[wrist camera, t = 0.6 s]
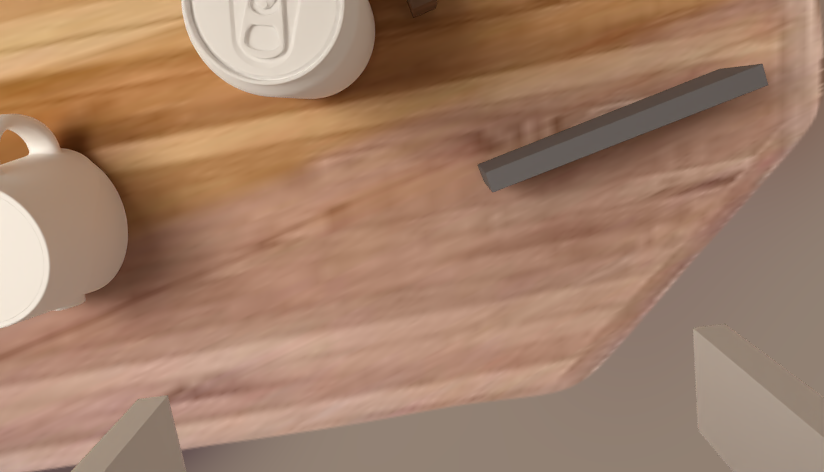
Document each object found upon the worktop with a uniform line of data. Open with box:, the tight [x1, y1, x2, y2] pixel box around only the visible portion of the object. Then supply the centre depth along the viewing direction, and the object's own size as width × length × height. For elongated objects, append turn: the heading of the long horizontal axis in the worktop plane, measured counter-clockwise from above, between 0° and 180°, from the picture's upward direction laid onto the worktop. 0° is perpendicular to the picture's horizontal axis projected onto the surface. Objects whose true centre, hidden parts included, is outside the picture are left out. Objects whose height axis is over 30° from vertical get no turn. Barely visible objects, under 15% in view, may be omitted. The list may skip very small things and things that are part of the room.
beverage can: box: [181, 0, 375, 99], centre depth 33 cm, size 8×8×12 cm
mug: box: [0, 114, 128, 328], centre depth 37 cm, size 12×9×8 cm
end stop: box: [478, 64, 768, 192], centre depth 37 cm, size 1×16×5 cm, turn 112°
